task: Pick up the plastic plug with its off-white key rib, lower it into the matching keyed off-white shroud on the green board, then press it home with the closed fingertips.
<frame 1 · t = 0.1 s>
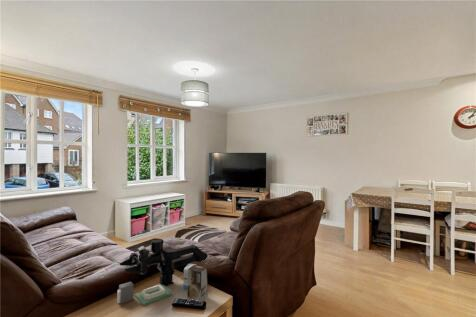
hand: (122, 267, 130), 17 cm above the table, tool horizontal, fingers open, 9 cm apart
coffee box: (197, 298, 131), on the table
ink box: (189, 286, 143), on the table
dock: (153, 295, 133), on the table
plug: (125, 299, 128), on the table
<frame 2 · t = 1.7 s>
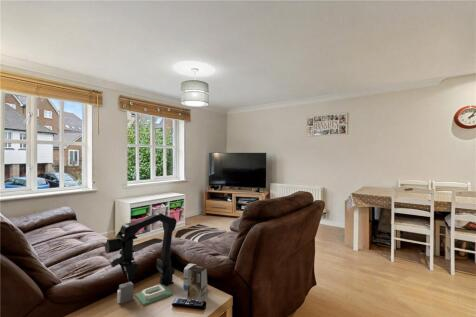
hand: (126, 278, 128), 11 cm above the table, tool pointing down, fingers open, 9 cm apart
nothing on the table moved.
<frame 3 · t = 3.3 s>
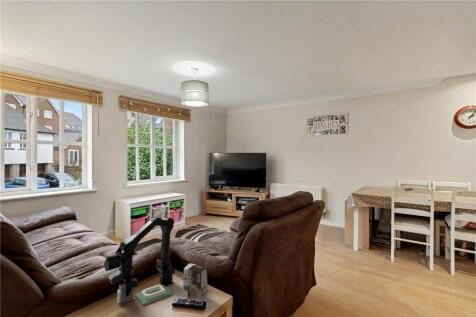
hand: (126, 294, 128), 3 cm above the table, tool pointing down, fingers closed on plug, 4 cm apart
plug: (125, 299, 128), on the table, touching gripper
everything else where it was.
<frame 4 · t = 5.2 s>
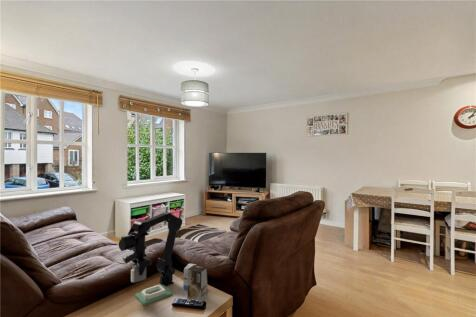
hand: (139, 274, 131), 13 cm above the table, tool pointing down, fingers closed on plug, 4 cm apart
plug: (139, 279, 131), point 10 cm above the table, touching gripper
everything else where it was.
when the fingers open (5 cm above the table, at t = 7.2 s): plug stays where it is, resting on dock.
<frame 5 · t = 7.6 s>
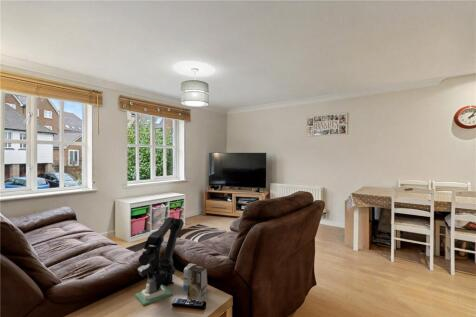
hand: (154, 286, 133), 5 cm above the table, tool pointing down, fingers open, 9 cm apart
plug: (153, 293, 133), point 1 cm above the table, touching dock
everything else where it was.
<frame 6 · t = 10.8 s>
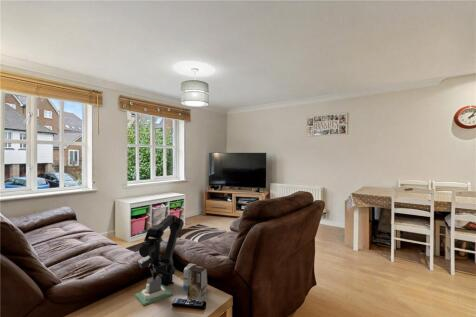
hand: (154, 278, 133), 9 cm above the table, tool pointing down, fingers closed
nothing on the table moved.
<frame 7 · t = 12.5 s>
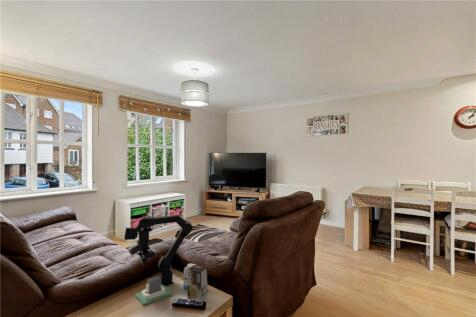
hand: (143, 265, 143), 12 cm above the table, tool pointing down, fingers closed
nothing on the table moved.
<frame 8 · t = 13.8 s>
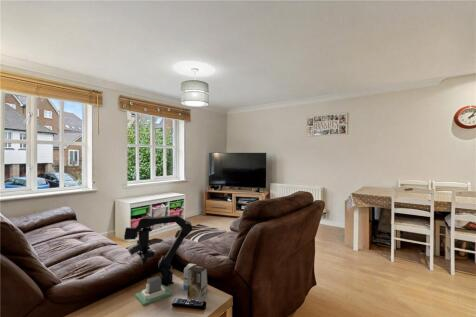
hand: (143, 265, 143), 12 cm above the table, tool pointing down, fingers closed
nothing on the table moved.
at the end: plug 0.0 cm off-centre on the dock, point 1.0 cm above the dock's base; plug tilted 0°; the gripper is holding nothing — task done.
